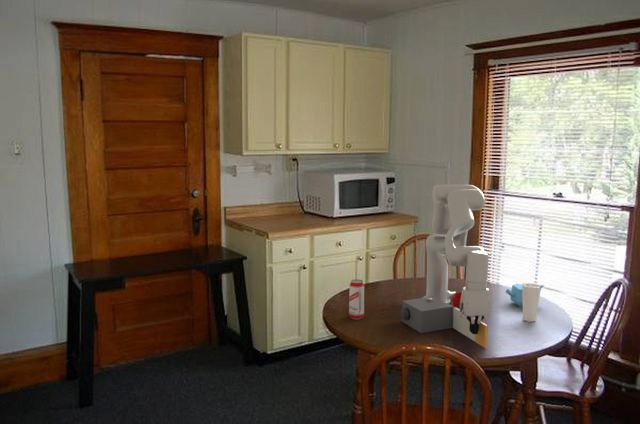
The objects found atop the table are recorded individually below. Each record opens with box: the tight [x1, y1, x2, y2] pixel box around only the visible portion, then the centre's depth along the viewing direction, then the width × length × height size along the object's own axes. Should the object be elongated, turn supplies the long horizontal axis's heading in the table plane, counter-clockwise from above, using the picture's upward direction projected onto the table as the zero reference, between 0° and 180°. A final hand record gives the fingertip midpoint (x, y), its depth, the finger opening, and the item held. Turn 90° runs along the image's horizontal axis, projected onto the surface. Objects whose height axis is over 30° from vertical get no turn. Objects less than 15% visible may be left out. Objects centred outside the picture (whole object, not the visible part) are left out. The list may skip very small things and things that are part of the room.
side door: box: [451, 307, 489, 349], centre depth 207 cm, size 22×1×8 cm, turn 19°
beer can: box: [348, 278, 365, 321], centre depth 228 cm, size 6×6×16 cm
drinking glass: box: [522, 282, 541, 323], centre depth 226 cm, size 7×7×15 cm
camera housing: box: [400, 296, 453, 334], centre depth 221 cm, size 16×14×10 cm
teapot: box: [505, 282, 545, 309], centre depth 246 cm, size 18×14×10 cm
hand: (473, 332), depth 199 cm, fingers closed
